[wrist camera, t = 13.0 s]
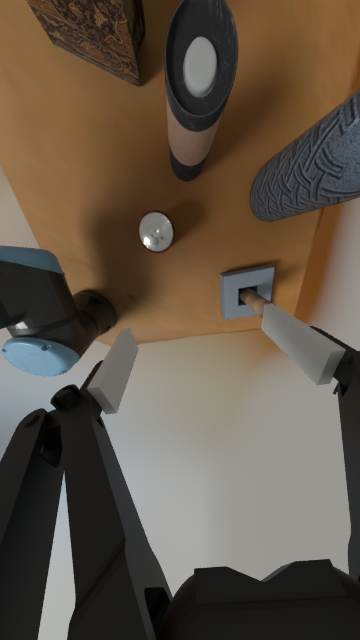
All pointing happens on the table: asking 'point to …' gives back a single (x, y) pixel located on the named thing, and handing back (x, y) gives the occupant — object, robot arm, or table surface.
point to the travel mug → (197, 79)
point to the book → (96, 31)
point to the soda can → (156, 231)
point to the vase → (312, 168)
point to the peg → (253, 300)
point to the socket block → (234, 280)
